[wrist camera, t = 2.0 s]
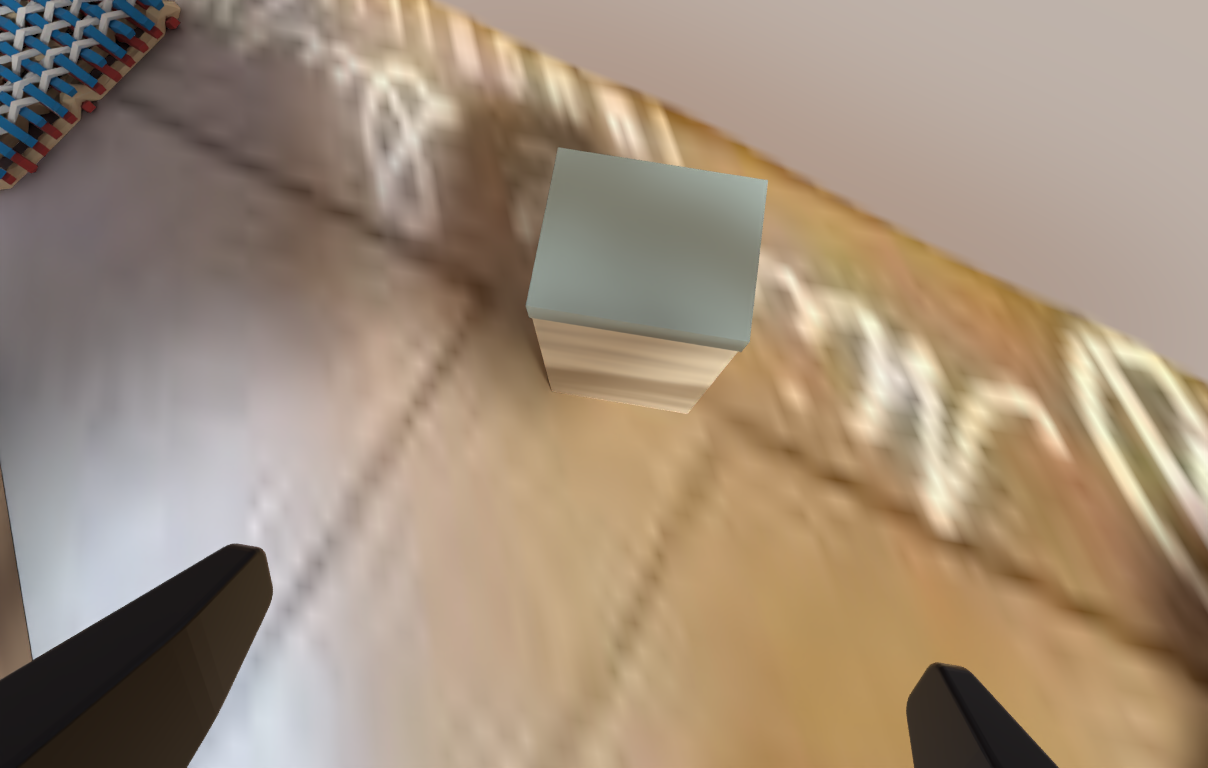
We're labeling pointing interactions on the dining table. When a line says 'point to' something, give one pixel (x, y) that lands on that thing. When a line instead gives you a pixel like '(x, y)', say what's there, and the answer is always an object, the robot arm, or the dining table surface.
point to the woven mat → (65, 65)
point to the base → (10, 601)
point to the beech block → (644, 278)
